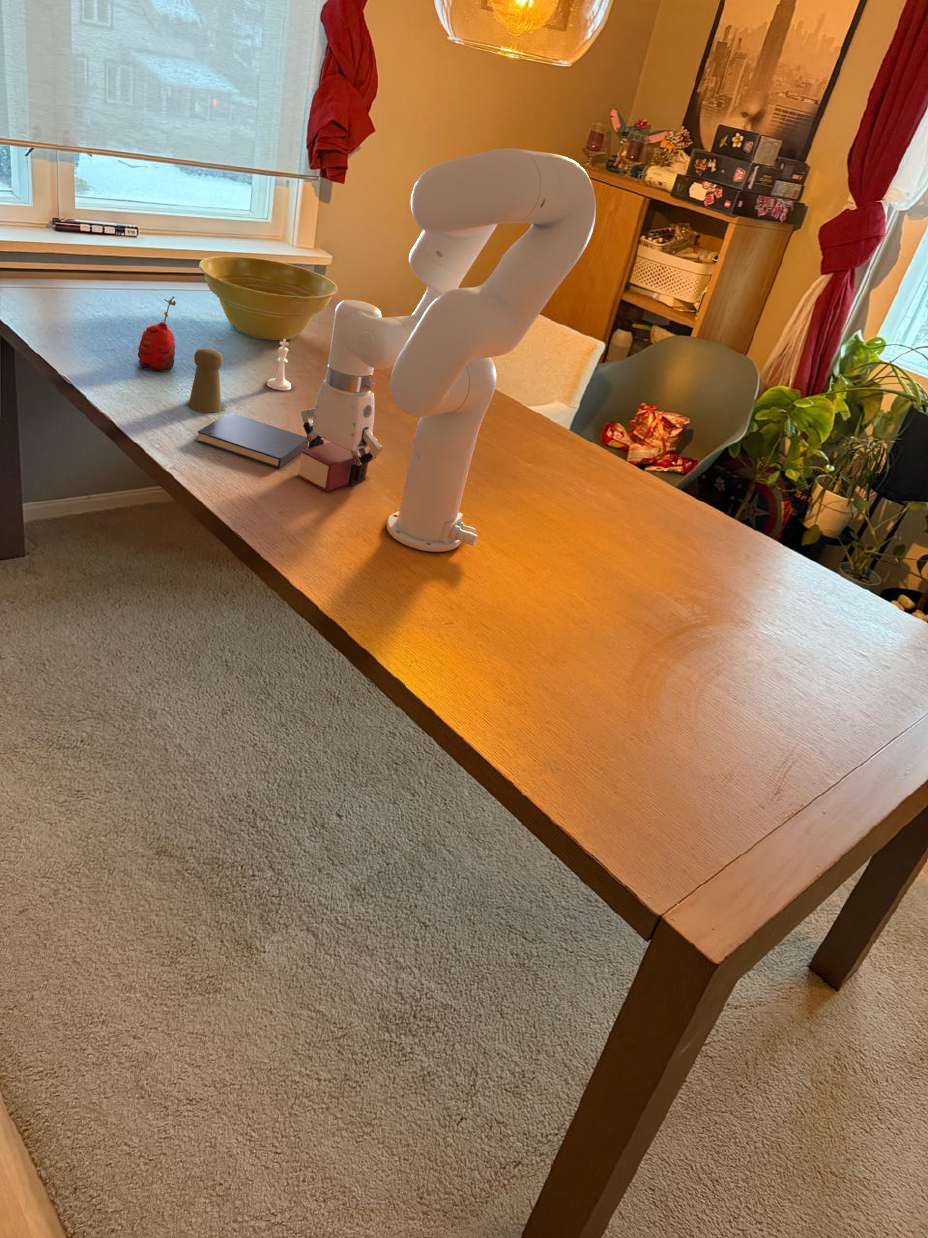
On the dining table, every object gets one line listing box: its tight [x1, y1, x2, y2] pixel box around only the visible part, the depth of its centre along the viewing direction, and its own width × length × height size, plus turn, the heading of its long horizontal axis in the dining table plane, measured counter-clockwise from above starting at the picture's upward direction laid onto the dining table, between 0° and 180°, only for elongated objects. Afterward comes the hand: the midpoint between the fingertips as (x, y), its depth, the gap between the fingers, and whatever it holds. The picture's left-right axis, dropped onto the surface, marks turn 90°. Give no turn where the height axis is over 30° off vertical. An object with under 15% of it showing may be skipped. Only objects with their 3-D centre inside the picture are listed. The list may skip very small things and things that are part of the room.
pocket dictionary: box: [297, 441, 369, 493], centre depth 160 cm, size 7×10×5 cm, turn 146°
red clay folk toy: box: [137, 296, 177, 372], centre depth 183 cm, size 8×7×15 cm
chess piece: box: [266, 339, 292, 391], centre depth 190 cm, size 5×5×10 cm
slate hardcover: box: [196, 411, 309, 469], centre depth 165 cm, size 16×12×2 cm
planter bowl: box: [198, 255, 339, 341], centre depth 218 cm, size 32×32×13 cm
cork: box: [188, 347, 224, 413], centre depth 173 cm, size 6×6×11 cm
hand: (334, 472), depth 161 cm, fingers open, 9 cm apart
